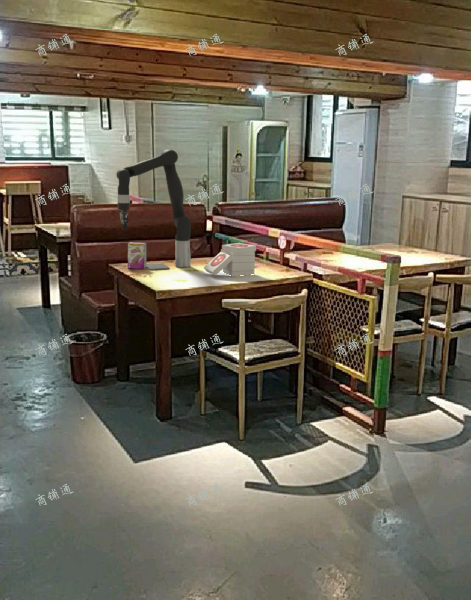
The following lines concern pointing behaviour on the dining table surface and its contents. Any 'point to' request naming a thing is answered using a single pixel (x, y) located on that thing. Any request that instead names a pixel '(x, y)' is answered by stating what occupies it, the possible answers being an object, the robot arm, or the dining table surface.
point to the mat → (157, 267)
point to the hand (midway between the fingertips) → (124, 229)
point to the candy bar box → (136, 255)
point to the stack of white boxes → (233, 260)
